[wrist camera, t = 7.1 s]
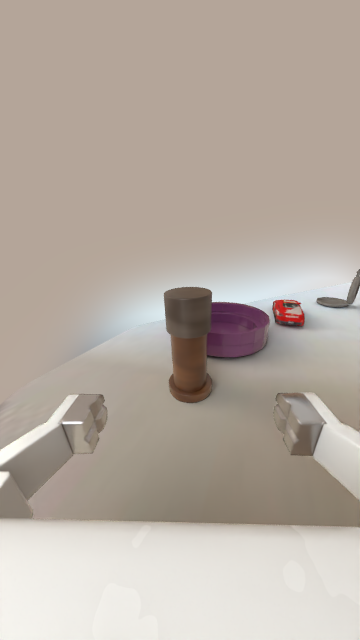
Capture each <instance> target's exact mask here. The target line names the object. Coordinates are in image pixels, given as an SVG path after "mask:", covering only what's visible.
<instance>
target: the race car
mask: <svg viewBox="0 0 360 640" xmlns="http://www.w3.org/2000/svg"><path fill="white" fill-rule="evenodd" d="M299 304H301V303H298V302H297V301H295V300H276V301H274V302H273V313H274V317H275V322H277V323H279V324H284V325H285V324H286V325H297V326H303V325H304V319H305V318H304V313H303V311H302V309H301V307H300V305H299Z"/></svg>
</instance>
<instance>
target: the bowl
mask: <svg viewBox="0 0 360 640" xmlns="http://www.w3.org/2000/svg"><path fill="white" fill-rule="evenodd" d="M269 323H270V320H269V316H268V315H267V314H266V313H265V312H264V311H262V310H260V309H257V308H255V307H252V306H248V305H244V304H238V303H229V302H228V303H227V302H212V309H211V330H210V332H209V333H208V334H207V355H210V356H217V357H240V356H245V355H250V354H253V353H255V352H257V351H259V350H261V349H262V348H263V347H264V346H265V344H266V343H267V336H268V330H269Z"/></svg>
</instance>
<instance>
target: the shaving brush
mask: <svg viewBox="0 0 360 640" xmlns="http://www.w3.org/2000/svg"><path fill="white" fill-rule="evenodd" d="M164 303H165V316H166V329H167V332H168V333H169V334H170V335H171V347H172V361H173V374H172V375H171V377H170V379H169V388H170V392H171V394H172V395H173V396H174V397H175V398H176V399H177V400H179V401H182V402H187V403H194V402H199V401H202V400H204V399H205V398H207V397H208V395H209V394H210V392H211V388H212V380H211V377H210V376H209V374H208V373H207V334H208V333H209V332H210V330H211V309H212V292H211V291H210V290H208V289H205V288H199V287H182V288H175V289H171V290H168V291H166V292H165V293H164Z"/></svg>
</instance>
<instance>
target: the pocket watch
mask: <svg viewBox="0 0 360 640" xmlns="http://www.w3.org/2000/svg"><path fill="white" fill-rule="evenodd" d="M359 275H360V269H359V270H358V271H357V276H356V277H355V278H354V280H353V282H352V284H351V287H350V290H349V293H348V297H347V301H346V300H342V299H338V298H329V297H322V298H317V303H319V304H321V305H325V306H330V307H345V306H348V304H352V303H353V302H354V300H355V298H356V295H357V293H358V289H359V286H360V276H359Z"/></svg>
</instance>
